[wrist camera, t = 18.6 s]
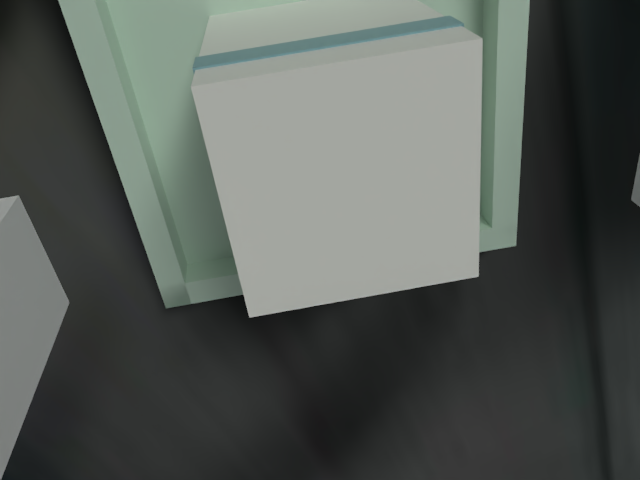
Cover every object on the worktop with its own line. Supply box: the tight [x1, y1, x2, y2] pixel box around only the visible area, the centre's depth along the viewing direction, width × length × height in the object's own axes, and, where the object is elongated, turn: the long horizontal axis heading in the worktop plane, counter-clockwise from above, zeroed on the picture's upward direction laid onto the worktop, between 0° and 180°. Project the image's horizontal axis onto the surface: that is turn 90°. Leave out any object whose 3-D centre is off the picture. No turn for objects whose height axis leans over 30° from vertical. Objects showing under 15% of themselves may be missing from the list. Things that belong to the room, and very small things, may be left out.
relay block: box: [191, 0, 483, 318], centre depth 17 cm, size 6×6×8 cm
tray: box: [58, 0, 530, 308], centre depth 20 cm, size 14×14×2 cm
